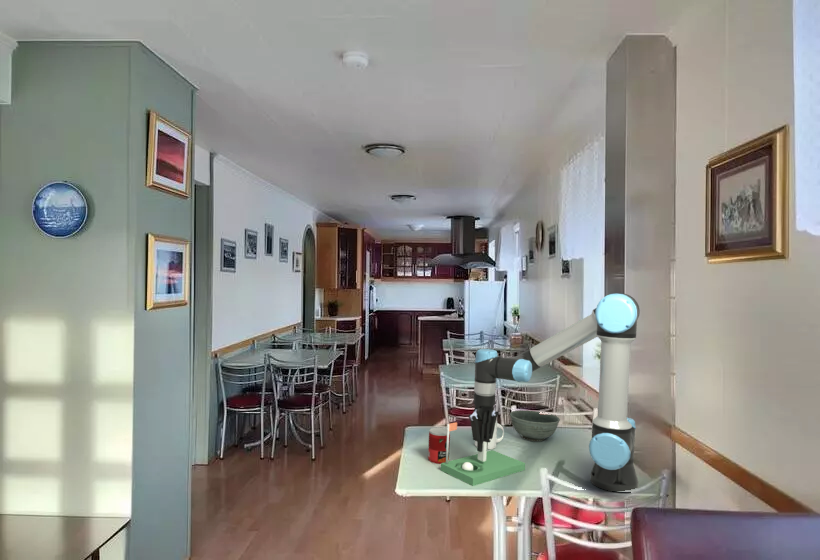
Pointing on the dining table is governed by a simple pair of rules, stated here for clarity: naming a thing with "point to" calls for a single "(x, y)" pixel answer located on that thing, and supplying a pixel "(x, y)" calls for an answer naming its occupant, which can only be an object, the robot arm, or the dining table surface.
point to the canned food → (438, 445)
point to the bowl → (534, 424)
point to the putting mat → (480, 465)
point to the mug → (494, 437)
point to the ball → (467, 466)
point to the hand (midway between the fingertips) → (481, 459)
